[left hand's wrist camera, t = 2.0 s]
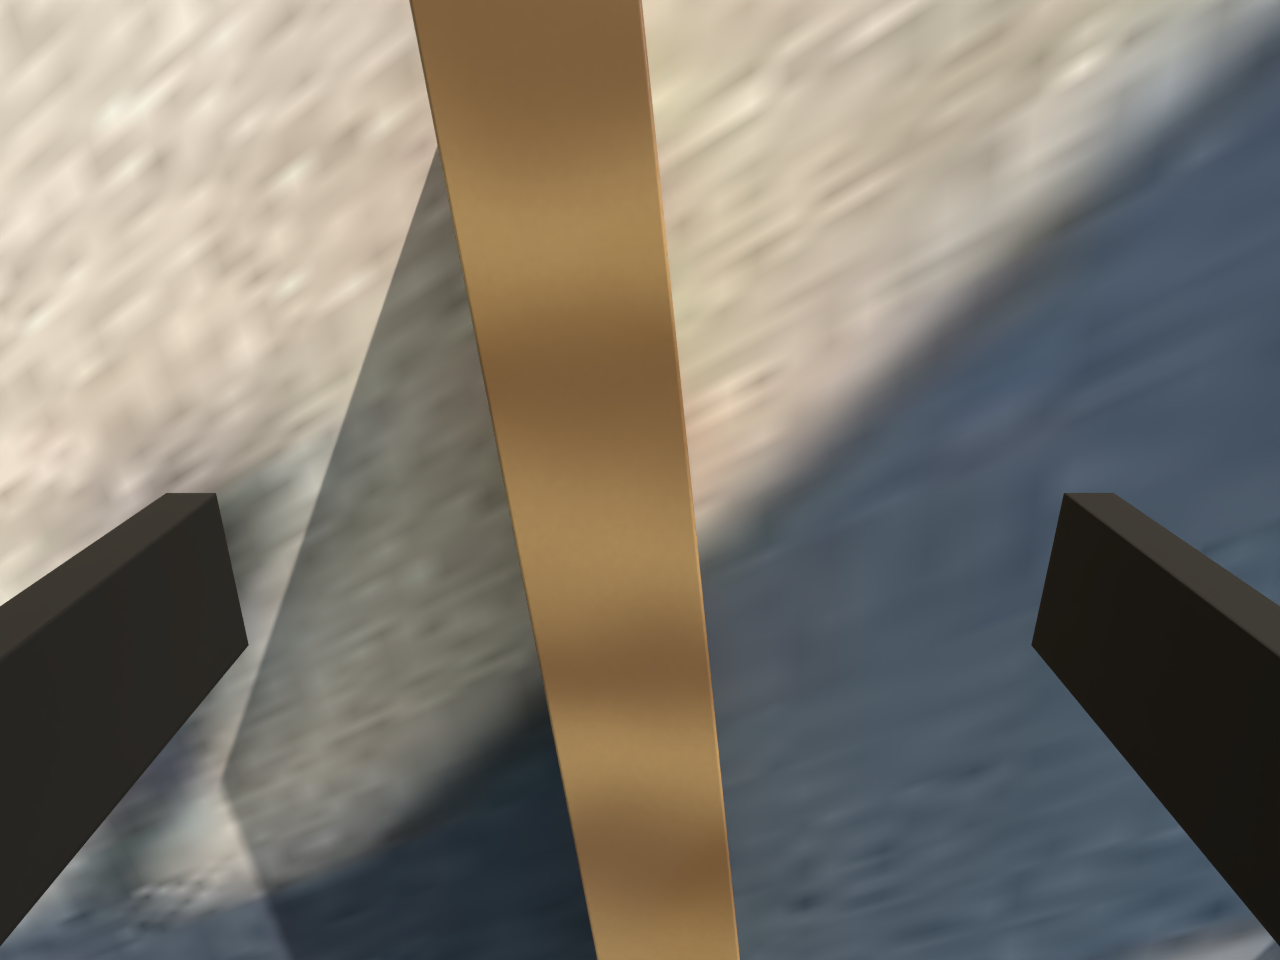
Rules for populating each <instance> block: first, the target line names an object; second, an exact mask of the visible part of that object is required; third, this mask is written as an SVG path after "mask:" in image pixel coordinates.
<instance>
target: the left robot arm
mask: <svg viewBox="0 0 1280 960" xmlns="http://www.w3.org/2000/svg"><path fill="white" fill-rule="evenodd" d="M247 646H248V640H247V636H246V631H245V626H244V622H243V617H242V612H241V608H240V603H239V598H238V594H237V589H236V584H235V580H234V575H233V570H232V566H231V561H230V556H229V552H228V547H227V542H226V538H225V533H224V528H223V524H222V519H221V515H220V510H219V505H218V501H217V496H216V493H166V494H164V495H163V496H162V497H160V498H159V499H157V500H156V501H154V502H153V503H151V504H150V505H148V506H147V507H145V508H144V509H142V510H141V511H140V512H138V513H137V514H135V515H134V516H132V517H131V518H129V519H128V520H126V521H125V522H123V523H122V524H120V525H119V526H117V527H116V528H115V529H113V530H112V531H110V532H109V533H107V534H106V535H104V536H103V537H101V538H100V539H98V540H97V541H95V542H94V543H93V544H91V545H90V546H88V547H87V548H85V549H84V550H82V551H81V552H79V553H78V554H76V555H75V556H73V557H72V558H71V559H69V560H68V561H66V562H65V563H63V564H62V565H60V566H59V567H57V568H56V569H54V570H53V571H51V572H50V573H49V574H47V575H46V576H44V577H43V578H41V579H40V580H38V581H37V582H35V583H34V584H32V585H31V586H29V587H28V588H27V589H25V590H24V591H22V592H21V593H19V594H18V595H16V596H15V597H13V598H12V599H10V600H9V601H7V602H6V603H5V604H3V605H2V606H0V946H1V945H2V944H3V942H4V941H5V940H6V939H7V937H8V936H9V935H10V934H11V933H12V931H13V930H14V929H15V928H16V927H17V925H18V924H19V923H20V922H21V920H22V919H23V918H24V917H25V916H26V914H27V913H28V912H29V911H30V910H31V908H32V907H33V906H34V905H35V903H36V902H37V901H38V900H39V899H40V897H41V896H42V895H43V894H44V893H45V891H46V890H47V889H48V888H49V887H50V885H51V884H52V883H53V882H54V880H55V879H56V878H57V877H58V876H59V874H60V873H61V872H62V871H63V870H64V868H65V867H66V866H67V865H68V863H69V862H70V861H71V860H72V859H73V857H74V856H75V855H76V854H77V853H78V851H79V850H80V849H81V848H82V846H83V845H84V844H85V843H86V842H87V840H88V839H89V838H90V837H91V836H92V834H93V833H94V832H95V831H96V830H97V828H98V827H99V826H100V825H101V823H102V822H103V821H104V820H105V819H106V817H107V816H108V815H109V814H110V813H111V811H112V810H113V809H114V808H115V806H116V805H117V804H118V803H119V802H120V800H121V799H122V798H123V797H124V796H125V794H126V793H127V792H128V791H129V789H130V788H131V787H132V786H133V785H134V783H135V782H136V781H137V780H138V779H139V777H140V776H141V775H142V774H143V773H144V771H145V770H146V769H147V768H148V766H149V765H150V764H151V763H152V762H153V760H154V759H155V758H156V757H157V756H158V754H159V753H160V752H161V751H162V749H163V748H164V747H165V746H166V745H167V743H168V742H169V741H170V740H171V739H172V737H173V736H174V735H175V734H176V732H177V731H178V730H179V729H180V728H181V726H182V725H183V724H184V723H185V722H186V720H187V719H188V718H189V717H190V716H191V714H192V713H193V712H194V711H195V709H196V708H197V707H198V706H199V705H200V703H201V702H202V701H203V700H204V699H205V697H206V696H207V695H208V694H209V692H210V691H211V690H212V689H213V688H214V686H215V685H216V684H217V683H218V682H219V680H220V679H221V678H222V677H223V675H224V674H225V673H226V672H227V671H228V669H229V668H230V667H231V666H232V665H233V663H234V662H235V661H236V660H237V659H238V657H239V656H240V655H241V654H242V652H243V651H244V650H245V649H246V648H247ZM1032 646H1033V648H1034V649H1035V650H1036V651H1037V652H1038V654H1039V655H1040V656H1041V657H1042V659H1043V660H1044V661H1045V662H1046V663H1047V665H1048V666H1049V667H1050V668H1051V669H1052V671H1053V672H1054V673H1055V674H1056V675H1057V677H1058V678H1059V679H1060V680H1061V682H1062V683H1063V684H1064V685H1065V686H1066V688H1067V689H1068V690H1069V691H1070V692H1071V694H1072V695H1073V696H1074V697H1075V699H1076V700H1077V701H1078V702H1079V703H1080V705H1081V706H1082V707H1083V708H1084V709H1085V711H1086V712H1087V713H1088V714H1089V716H1090V717H1091V718H1092V719H1093V720H1094V722H1095V723H1096V724H1097V725H1098V726H1099V728H1100V729H1101V730H1102V731H1103V732H1104V734H1105V735H1106V736H1107V737H1108V739H1109V740H1110V741H1111V742H1112V743H1113V745H1114V746H1115V747H1116V748H1117V749H1118V751H1119V752H1120V753H1121V754H1122V756H1123V757H1124V758H1125V759H1126V760H1127V762H1128V763H1129V764H1130V765H1131V766H1132V768H1133V769H1134V770H1135V771H1136V773H1137V774H1138V775H1139V776H1140V777H1141V779H1142V780H1143V781H1144V782H1145V783H1146V785H1147V786H1148V787H1149V788H1150V789H1151V791H1152V792H1153V793H1154V794H1155V796H1156V797H1157V798H1158V799H1159V800H1160V802H1161V803H1162V804H1163V805H1164V806H1165V808H1166V809H1167V810H1168V811H1169V813H1170V814H1171V815H1172V816H1173V817H1174V819H1175V820H1176V821H1177V822H1178V823H1179V825H1180V826H1181V827H1182V828H1183V830H1184V831H1185V832H1186V833H1187V834H1188V836H1189V837H1190V838H1191V839H1192V840H1193V842H1194V843H1195V844H1196V845H1197V846H1198V848H1199V849H1200V850H1201V851H1202V853H1203V854H1204V855H1205V856H1206V857H1207V859H1208V860H1209V861H1210V862H1211V863H1212V865H1213V866H1214V867H1215V868H1216V870H1217V871H1218V872H1219V873H1220V874H1221V876H1222V877H1223V878H1224V879H1225V880H1226V882H1227V883H1228V884H1229V885H1230V887H1231V888H1232V889H1233V890H1234V891H1235V893H1236V894H1237V895H1238V896H1239V897H1240V899H1241V900H1242V901H1243V902H1244V903H1245V905H1246V906H1247V907H1248V908H1249V910H1250V911H1251V912H1252V913H1253V914H1254V916H1255V917H1256V918H1257V919H1258V920H1259V922H1260V923H1261V924H1262V925H1263V927H1264V928H1265V929H1266V930H1267V931H1268V933H1269V934H1270V935H1271V936H1272V937H1273V939H1274V940H1275V941H1276V942H1277V944H1278V945H1279V946H1280V606H1278V605H1277V604H1275V603H1274V602H1273V601H1271V600H1270V599H1268V598H1267V597H1265V596H1264V595H1262V594H1261V593H1259V592H1258V591H1256V590H1255V589H1253V588H1252V587H1251V586H1249V585H1248V584H1246V583H1245V582H1243V581H1242V580H1240V579H1239V578H1237V577H1236V576H1234V575H1233V574H1231V573H1230V572H1229V571H1227V570H1226V569H1224V568H1223V567H1221V566H1220V565H1218V564H1217V563H1215V562H1214V561H1212V560H1211V559H1209V558H1208V557H1207V556H1205V555H1204V554H1202V553H1201V552H1199V551H1198V550H1196V549H1195V548H1193V547H1192V546H1190V545H1189V544H1187V543H1186V542H1185V541H1183V540H1182V539H1180V538H1179V537H1177V536H1176V535H1174V534H1173V533H1171V532H1170V531H1168V530H1167V529H1165V528H1164V527H1163V526H1161V525H1160V524H1158V523H1157V522H1155V521H1154V520H1152V519H1151V518H1149V517H1148V516H1146V515H1145V514H1143V513H1142V512H1140V511H1139V510H1138V509H1136V508H1135V507H1133V506H1132V505H1130V504H1129V503H1127V502H1126V501H1124V500H1123V499H1121V498H1120V497H1118V496H1117V495H1116V494H1114V493H1064V496H1063V501H1062V505H1061V510H1060V515H1059V519H1058V524H1057V528H1056V533H1055V538H1054V542H1053V547H1052V552H1051V556H1050V561H1049V566H1048V570H1047V575H1046V580H1045V584H1044V589H1043V594H1042V598H1041V603H1040V608H1039V612H1038V617H1037V622H1036V626H1035V631H1034V636H1033V640H1032Z"/></svg>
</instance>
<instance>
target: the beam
mask: <svg viewBox="0 0 1280 960" xmlns="http://www.w3.org/2000/svg"><path fill="white" fill-rule="evenodd" d="M409 1H410V6H411V11H412V16H413V22H414V27H415V32H416V37H417V42H418V47H419V52H420V57H421V62H422V68H423V73H424V78H425V83H426V88H427V93H428V98H429V103H430V108H431V114H432V119H433V124H434V129H435V134H436V139H437V144H438V149H439V154H440V159H441V165H442V170H443V175H444V180H445V185H446V190H447V195H448V200H449V205H450V211H451V216H452V221H453V226H454V231H455V236H456V241H457V246H458V251H459V257H460V262H461V267H462V272H463V277H464V282H465V287H466V292H467V297H468V303H469V308H470V313H471V318H472V323H473V328H474V333H475V338H476V343H477V348H478V354H479V359H480V364H481V369H482V374H483V379H484V384H485V389H486V394H487V400H488V405H489V410H490V415H491V420H492V425H493V430H494V435H495V440H496V446H497V451H498V456H499V461H500V466H501V471H502V476H503V481H504V486H505V491H506V497H507V502H508V507H509V512H510V517H511V522H512V527H513V532H514V537H515V543H516V548H517V553H518V558H519V563H520V568H521V573H522V578H523V583H524V589H525V594H526V599H527V604H528V609H529V614H530V619H531V624H532V629H533V635H534V640H535V645H536V650H537V655H538V660H539V665H540V670H541V675H542V680H543V686H544V691H545V696H546V701H547V706H548V711H549V716H550V721H551V726H552V732H553V737H554V742H555V747H556V752H557V757H558V762H559V767H560V772H561V778H562V783H563V788H564V793H565V798H566V803H567V808H568V813H569V818H570V823H571V829H572V834H573V839H574V844H575V849H576V854H577V859H578V864H579V869H580V875H581V880H582V885H583V890H584V895H585V900H586V905H587V910H588V915H589V921H590V926H591V931H592V936H593V941H594V946H595V951H596V956H597V960H740V957H739V947H738V937H737V928H736V918H735V908H734V898H733V889H732V879H731V869H730V859H729V849H728V840H727V830H726V820H725V810H724V800H723V791H722V781H721V771H720V761H719V752H718V742H717V732H716V722H715V712H714V703H713V693H712V683H711V673H710V664H709V654H708V644H707V634H706V624H705V615H704V605H703V595H702V585H701V576H700V566H699V556H698V546H697V536H696V527H695V517H694V507H693V497H692V488H691V478H690V468H689V458H688V448H687V439H686V429H685V419H684V409H683V399H682V390H681V380H680V370H679V360H678V351H677V341H676V331H675V321H674V311H673V302H672V292H671V282H670V272H669V263H668V253H667V243H666V233H665V223H664V214H663V204H662V194H661V184H660V175H659V165H658V155H657V145H656V135H655V126H654V116H653V106H652V96H651V86H650V77H649V67H648V57H647V47H646V38H645V28H644V18H643V8H642V0H409Z"/></svg>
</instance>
